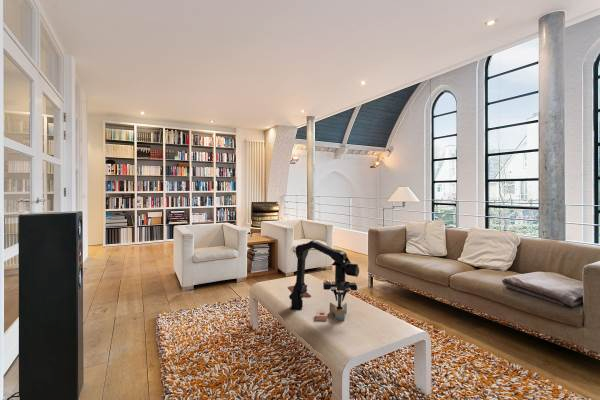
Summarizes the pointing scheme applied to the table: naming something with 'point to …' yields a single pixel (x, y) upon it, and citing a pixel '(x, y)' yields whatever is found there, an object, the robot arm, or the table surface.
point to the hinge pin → (339, 298)
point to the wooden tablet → (304, 294)
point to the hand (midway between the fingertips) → (339, 301)
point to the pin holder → (321, 315)
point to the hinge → (338, 311)
